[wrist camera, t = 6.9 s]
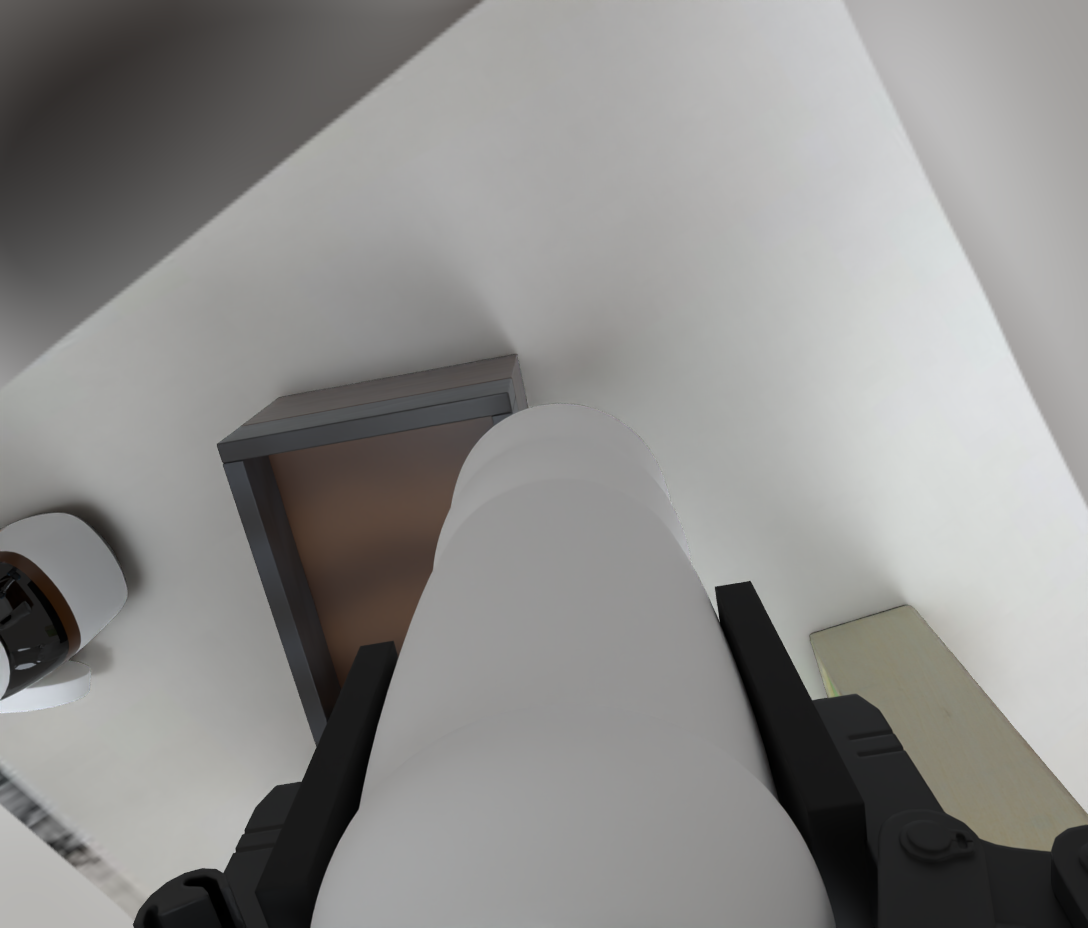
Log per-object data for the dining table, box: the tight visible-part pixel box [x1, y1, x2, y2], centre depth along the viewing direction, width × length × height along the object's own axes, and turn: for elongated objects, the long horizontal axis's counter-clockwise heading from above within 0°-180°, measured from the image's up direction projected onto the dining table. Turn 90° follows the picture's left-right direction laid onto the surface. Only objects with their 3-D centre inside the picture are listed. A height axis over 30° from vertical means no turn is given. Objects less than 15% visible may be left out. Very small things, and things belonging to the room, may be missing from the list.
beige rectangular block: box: [810, 605, 1088, 852], centre depth 41 cm, size 8×7×21 cm
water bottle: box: [310, 403, 836, 928], centre depth 16 cm, size 7×7×25 cm
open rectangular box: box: [217, 354, 528, 747], centre depth 44 cm, size 18×14×9 cm
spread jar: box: [0, 512, 127, 713], centre depth 45 cm, size 12×11×12 cm
